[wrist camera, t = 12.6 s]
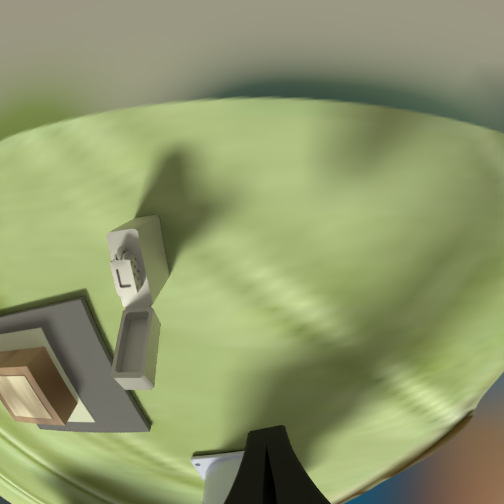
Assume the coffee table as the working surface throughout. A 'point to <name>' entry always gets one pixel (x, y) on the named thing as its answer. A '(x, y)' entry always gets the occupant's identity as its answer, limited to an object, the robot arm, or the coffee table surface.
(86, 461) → the coffee table surface
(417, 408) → the coffee table surface
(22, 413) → the slab
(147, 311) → the lighter
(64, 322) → the mat
